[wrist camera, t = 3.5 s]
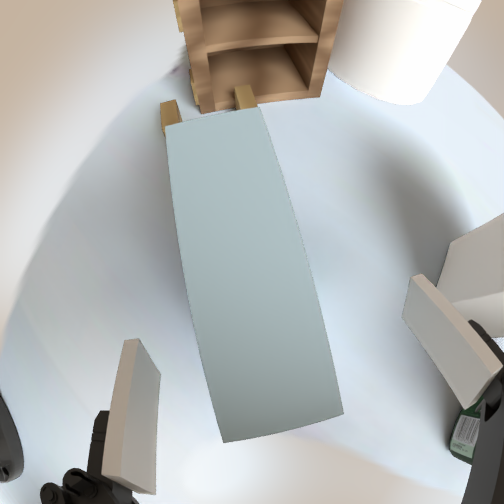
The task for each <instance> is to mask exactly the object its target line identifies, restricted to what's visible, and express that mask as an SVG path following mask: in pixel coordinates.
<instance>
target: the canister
mask: <svg viewBox="0 0 504 504" xmlns="http://www.w3.org/2000/svg"><path fill="white" fill-rule="evenodd" d="M481 1H482V0H344V2H343V6H342V10H341V14H340V19H339V23H338V27H337V31H336V35H335V39H334V43H333V47H332V51H331V55H330V59H329V63H328V67H327V68H328V69H329V70H330V71H331V72H332V73H333V74H335V75H336V76H337V77H338V78H339V79H340V80H342V81H343V82H345V83H347V84H348V85H350V86H351V87H353V88H354V89H356V90H358V91H360V92H362V93H365V94H367V95H369V96H371V97H374V98H376V99H379V100H382V101H386V102H390V103H393V104H404V105H412V104H415V103H418V102H422V100H423V99H424V98H425V96H426V95H427V94H428V92H429V90H430V89H431V87H432V86H433V84H434V83H435V81H436V79H437V78H438V76H439V74H440V73H441V71H442V70H443V68H444V66H445V65H446V63H447V61H448V60H449V58H450V56H451V55H452V53H453V51H454V50H455V48H456V46H457V44H458V43H459V41H460V39H461V37H462V36H463V34H464V32H465V30H466V29H467V27H468V25H469V23H470V21H471V19H472V16H473V14H474V13H475V12H476V10H477V8H478V6H479V5H480V2H481Z"/></svg>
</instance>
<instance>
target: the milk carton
mask: <svg viewBox="0 0 504 504" xmlns="http://www.w3.org/2000/svg"><path fill="white" fill-rule="evenodd" d="M436 288H437V289H438V290H439V291H440V292H441V293H442V295H443V296H444V297H445V298H446V299H447V300H448V301H449V302H450V303H451V304H452V305H453V306H454V307H455V308H456V310H457V311H458V312H459V313H460V314H461V315H462V316H463V317H464V318H465V320H466V321H469V320H471V319H472V320H473V321H475V322H477V323H478V324H480V325H481V326H482V327H483V329H484V330H485V331H486V333H487V334H489V336H490V337H491V338H499V337H504V213H503V214H501V215H499V216H497V217H496V218H494V219H492V220H491V221H489V222H487V223H485V224H483V225H482V226H480V227H478V228H476V229H474V230H473V231H471V232H469V233H467V234H465V235H463V236H461V237H459V238H458V239H456V240H454V241H452V242H451V243H450V246H449V249H448V253H447V256H446V259H445V263H444V266H443V269H442V272H441V275H440V278H439V281H438V284H437V287H436Z"/></svg>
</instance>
